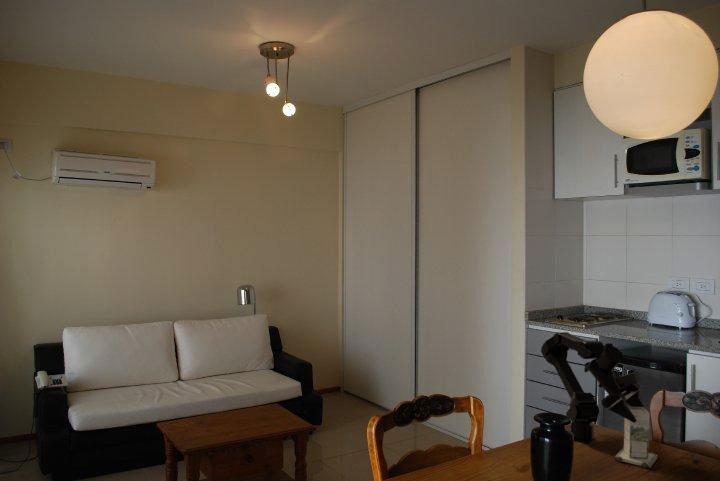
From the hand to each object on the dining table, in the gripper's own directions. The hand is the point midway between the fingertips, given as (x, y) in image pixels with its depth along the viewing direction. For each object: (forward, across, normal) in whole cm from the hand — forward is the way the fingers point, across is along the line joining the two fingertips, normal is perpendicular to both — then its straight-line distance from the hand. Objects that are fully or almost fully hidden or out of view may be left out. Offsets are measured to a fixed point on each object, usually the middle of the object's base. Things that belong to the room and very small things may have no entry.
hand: (641, 418), depth 180 cm
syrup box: (+7, 0, +10) cm, 12 cm away
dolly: (+8, 0, +10) cm, 13 cm away
